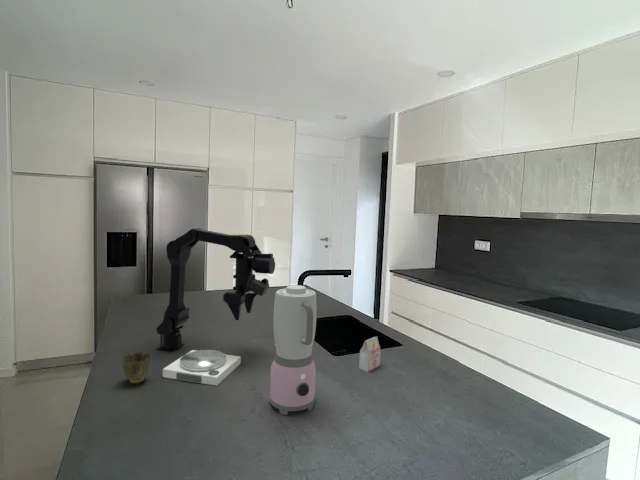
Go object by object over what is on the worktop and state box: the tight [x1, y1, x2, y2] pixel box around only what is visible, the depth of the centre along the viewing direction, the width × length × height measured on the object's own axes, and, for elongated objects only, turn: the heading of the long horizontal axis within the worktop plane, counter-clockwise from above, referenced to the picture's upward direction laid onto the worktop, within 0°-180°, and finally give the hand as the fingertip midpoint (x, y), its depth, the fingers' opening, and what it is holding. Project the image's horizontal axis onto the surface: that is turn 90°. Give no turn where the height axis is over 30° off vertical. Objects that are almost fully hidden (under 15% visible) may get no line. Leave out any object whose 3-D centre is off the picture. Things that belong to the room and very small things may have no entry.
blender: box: [269, 284, 318, 416], centre depth 98 cm, size 16×12×32 cm
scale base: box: [162, 349, 242, 386], centre depth 118 cm, size 18×16×3 cm
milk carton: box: [358, 336, 382, 373], centre depth 125 cm, size 4×7×10 cm, turn 137°
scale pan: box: [180, 349, 227, 371], centre depth 118 cm, size 14×14×1 cm
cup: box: [121, 350, 152, 385], centre depth 108 cm, size 8×7×8 cm
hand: (243, 316), depth 128 cm, fingers open, 9 cm apart
